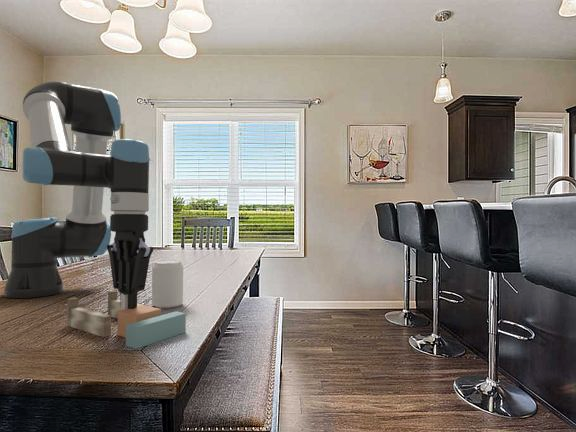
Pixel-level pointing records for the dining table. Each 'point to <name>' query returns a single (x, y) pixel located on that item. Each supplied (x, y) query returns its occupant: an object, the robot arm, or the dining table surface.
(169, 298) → the beverage can
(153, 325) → the stop block
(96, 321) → the parallel beige rails
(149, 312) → the block
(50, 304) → the dining table surface
